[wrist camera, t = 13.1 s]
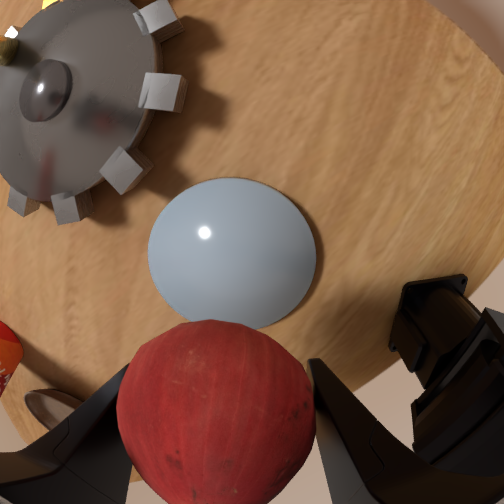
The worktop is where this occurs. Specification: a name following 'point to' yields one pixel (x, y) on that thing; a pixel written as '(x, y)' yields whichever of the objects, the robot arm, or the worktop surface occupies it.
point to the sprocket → (82, 100)
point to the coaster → (232, 253)
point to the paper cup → (8, 355)
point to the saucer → (50, 406)
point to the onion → (216, 414)
